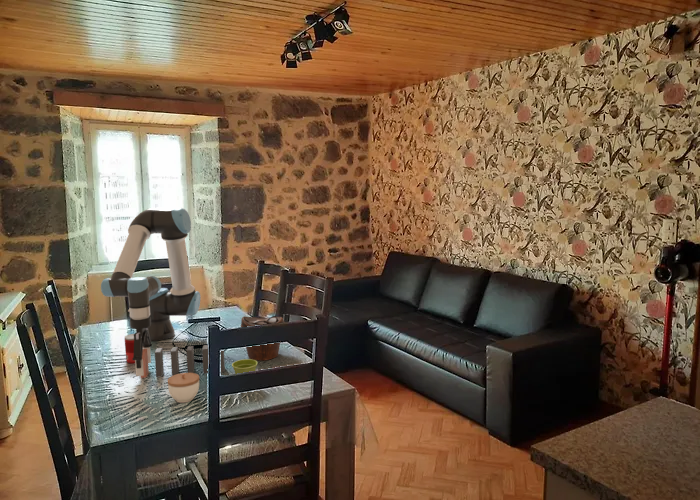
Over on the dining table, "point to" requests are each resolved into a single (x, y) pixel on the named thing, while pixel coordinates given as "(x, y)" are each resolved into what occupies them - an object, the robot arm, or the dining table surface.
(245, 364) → the plant pot
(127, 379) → the dining table surface
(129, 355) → the canned food
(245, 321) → the brown basket
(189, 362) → the domino
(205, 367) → the domino
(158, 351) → the domino
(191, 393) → the lidded jar
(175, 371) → the domino
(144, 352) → the domino
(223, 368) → the domino
